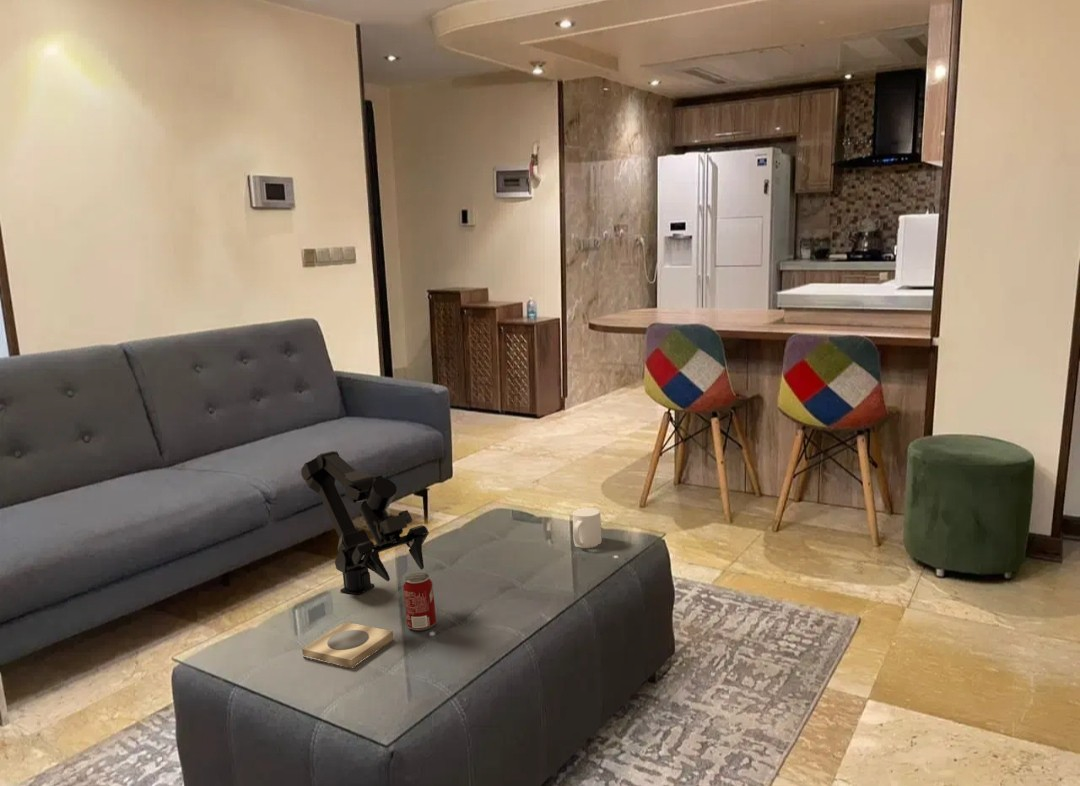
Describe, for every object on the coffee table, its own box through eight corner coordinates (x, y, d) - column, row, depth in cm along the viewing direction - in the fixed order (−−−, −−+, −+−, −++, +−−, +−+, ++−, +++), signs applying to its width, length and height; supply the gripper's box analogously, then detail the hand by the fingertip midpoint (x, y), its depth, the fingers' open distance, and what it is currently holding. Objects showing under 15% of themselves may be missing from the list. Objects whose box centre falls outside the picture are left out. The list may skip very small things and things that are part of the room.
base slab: (303, 657, 177) (302, 648, 176) (346, 629, 189) (345, 621, 188) (352, 668, 170) (350, 659, 170) (393, 639, 182) (392, 630, 182)
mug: (581, 505, 240) (605, 508, 236) (583, 535, 241) (607, 538, 237) (562, 518, 229) (587, 521, 225) (564, 549, 231) (589, 552, 227)
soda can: (430, 633, 184) (426, 583, 182) (403, 632, 185) (397, 583, 183) (440, 619, 191) (435, 571, 189) (413, 619, 192) (408, 571, 190)
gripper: (351, 512, 186) (380, 569, 179) (421, 493, 197) (450, 545, 191) (340, 537, 193) (367, 593, 186) (407, 517, 205) (435, 569, 198)
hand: (406, 574), depth 190 cm, fingers open, 9 cm apart
